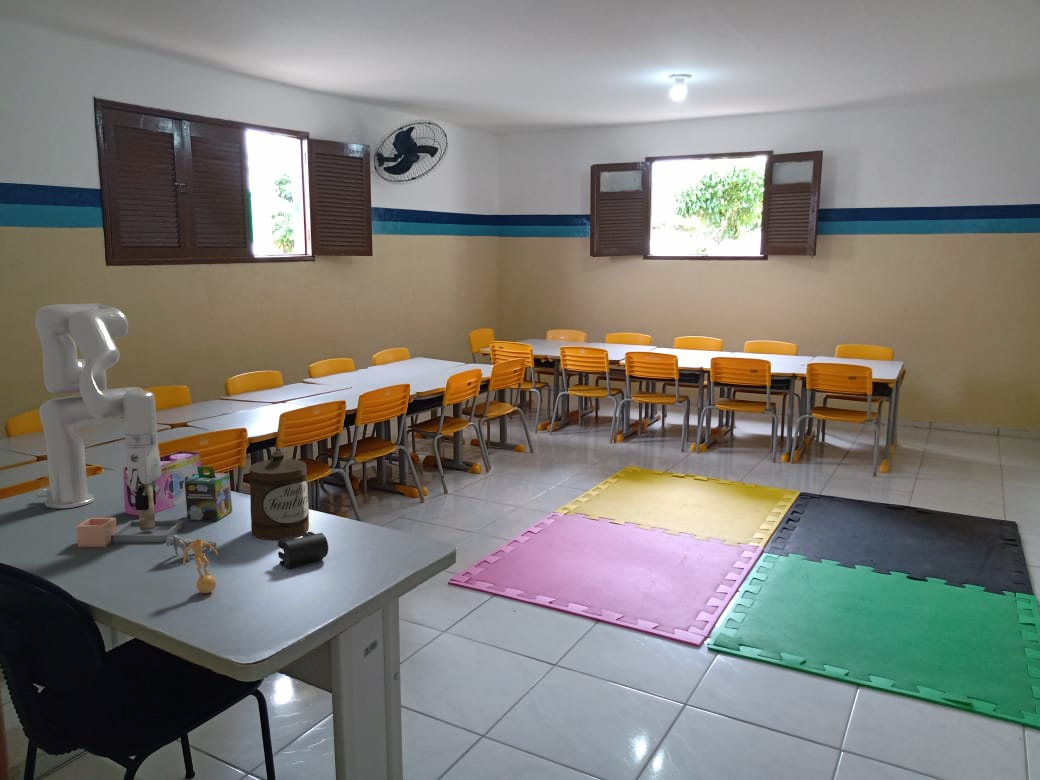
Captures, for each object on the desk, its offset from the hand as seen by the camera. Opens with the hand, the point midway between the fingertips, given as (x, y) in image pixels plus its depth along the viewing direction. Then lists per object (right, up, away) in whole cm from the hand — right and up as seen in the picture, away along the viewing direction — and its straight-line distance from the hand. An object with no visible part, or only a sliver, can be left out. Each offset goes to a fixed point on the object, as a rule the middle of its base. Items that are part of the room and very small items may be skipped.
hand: (146, 506), depth 204 cm
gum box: (-7, -4, +27) cm, 28 cm away
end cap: (+46, -11, -17) cm, 50 cm away
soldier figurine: (+18, -10, -13) cm, 24 cm away
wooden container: (+34, -8, +5) cm, 35 cm away
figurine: (+29, -14, -34) cm, 47 cm away
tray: (0, -7, +1) cm, 8 cm away
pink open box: (-10, -8, -5) cm, 14 cm away
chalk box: (+10, -5, +17) cm, 20 cm away
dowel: (0, -6, +1) cm, 6 cm away
